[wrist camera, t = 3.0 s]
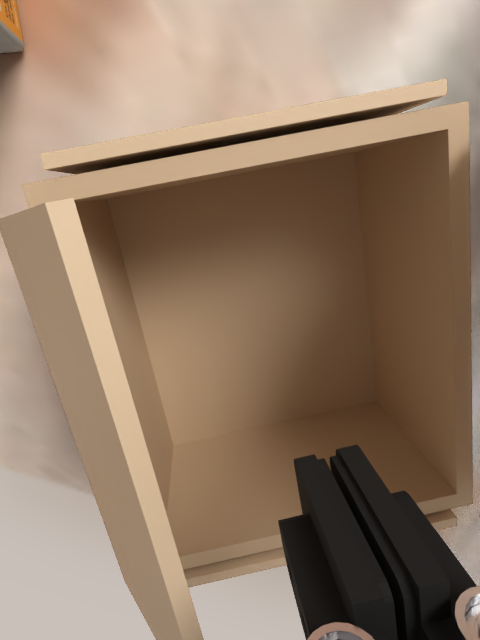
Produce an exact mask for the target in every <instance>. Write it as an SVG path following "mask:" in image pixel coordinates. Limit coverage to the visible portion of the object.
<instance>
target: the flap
mask: <svg viewBox="0 0 480 640" xmlns="http://www.w3.org/2000/svg"><path fill="white" fill-rule="evenodd" d="M0 231H1V234H2V237H3V240H4V243H5V245H6V248H7V251H8V254H9V257H10V260H11V262H12V265H13V268H14V271H15V274H16V276H17V279H18V282H19V285H20V288H21V290H22V293H23V296H24V299H25V302H26V305H27V307H28V310H29V313H30V316H31V319H32V321H33V324H34V327H35V330H36V333H37V335H38V338H39V341H40V344H41V347H42V350H43V352H44V355H45V358H46V361H47V364H48V366H49V369H50V372H51V375H52V378H53V380H54V383H55V386H56V389H57V392H58V395H59V397H60V400H61V403H62V406H63V409H64V411H65V414H66V417H67V420H68V423H69V426H70V428H71V431H72V434H73V437H74V440H75V442H76V445H77V448H78V451H79V454H80V456H81V459H82V462H83V465H84V468H85V471H86V473H87V476H88V479H89V482H90V485H91V487H92V490H93V493H94V496H95V499H96V501H97V504H98V507H99V510H100V513H101V516H102V518H103V521H104V524H105V527H106V529H107V532H108V535H109V538H110V541H111V543H112V546H113V549H114V552H115V555H116V558H117V560H118V563H119V566H120V569H121V572H122V574H123V577H124V580H125V582H126V584H127V586H128V588H129V590H130V592H131V594H132V595H133V597H134V599H135V601H136V603H137V605H138V606H139V608H140V610H141V612H142V614H143V616H144V618H145V619H146V621H147V623H148V625H149V627H150V629H151V631H152V632H153V634H154V636H155V638H156V640H203V636H202V633H201V630H200V626H199V623H198V619H197V616H196V612H195V609H194V606H193V602H192V599H191V596H190V592H189V589H188V585H187V582H186V578H185V575H184V572H183V568H182V565H181V561H180V558H179V555H178V551H177V548H176V544H175V541H174V538H173V534H172V531H171V527H170V524H169V521H168V517H167V514H166V510H165V507H164V504H163V500H162V497H161V493H160V490H159V487H158V483H157V480H156V476H155V473H154V470H153V466H152V463H151V459H150V456H149V453H148V449H147V446H146V443H145V439H144V436H143V432H142V429H141V426H140V422H139V419H138V415H137V412H136V409H135V405H134V402H133V398H132V395H131V392H130V388H129V385H128V381H127V378H126V375H125V371H124V368H123V364H122V361H121V358H120V354H119V351H118V347H117V344H116V341H115V337H114V334H113V330H112V327H111V324H110V320H109V317H108V313H107V310H106V307H105V303H104V300H103V296H102V293H101V290H100V286H99V283H98V279H97V276H96V273H95V269H94V266H93V262H92V259H91V256H90V252H89V249H88V246H87V242H86V239H85V235H84V232H83V229H82V225H81V222H80V218H79V215H78V212H77V208H76V205H75V201H74V198H70V199H64V200H59V201H53V202H47V203H43V204H40V205H38V206H35V207H32V208H29V209H27V210H24V211H21V212H18V213H16V214H13V215H10V216H7V217H5V218H2V219H0Z"/></svg>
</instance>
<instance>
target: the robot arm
mask: <svg viewBox="0 0 480 640" xmlns="http://www.w3.org/2000/svg"><path fill="white" fill-rule="evenodd" d="M294 467H295V473H296V479H297V485H298V491H299V497H300V503H301V508H302V514H303V515H299V516H294V517H290V518H286V519H282V520H278V524H279V529H280V534H281V539H282V545H283V549H284V554H285V559H286V563H287V567H288V572H289V575H290V580H291V584H292V587H293V591H294V595H295V599H296V603H297V606H298V610H299V614H300V618H301V622H302V626H303V630H304V633H305V637H306V640H480V586H476V584H475V583H474V582H473V580H472V579H471V577H470V576H469V575H468V573H467V572H466V571H465V569H464V568H463V567H462V565H461V564H460V562H459V561H458V560H457V558H456V557H455V556H454V554H453V553H452V552H451V550H450V549H449V548H448V546H447V545H446V543H445V542H444V541H443V539H442V538H441V537H440V535H439V534H438V533H437V531H436V530H435V529H434V527H433V526H432V524H431V523H430V522H429V520H428V519H427V518H426V516H425V515H424V514H423V512H422V511H421V510H420V508H419V507H418V505H417V504H416V503H415V501H414V500H413V499H412V497H411V496H410V495H409V494H408V493H407V492H406V491H399V492H395V493H390V491H389V490H388V488H387V487H386V485H385V484H384V482H383V481H382V479H381V478H380V476H379V475H378V474H377V472H376V471H375V469H374V468H373V466H372V465H371V463H370V462H369V460H368V459H367V457H366V456H365V454H364V453H363V451H362V450H361V448H360V447H359V446H358V445H352V446H348V447H343V448H339V449H336V455H335V456H331V457H330V467H331V470H330V468H329V466H328V464H327V462H326V460H325V459H324V458H322V459H318V460H317V457H316V456H315V455H314V454H313V455H309V456H304V457H300V458H296V459H294Z"/></svg>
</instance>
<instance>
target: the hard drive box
mask: <svg viewBox="0 0 480 640" xmlns="http://www.w3.org/2000/svg"><path fill="white" fill-rule="evenodd" d="M23 49H24V44H23V37H22V32H21V26H20V21H19V15H18V10H17V4H16V0H0V53H7V52H19V51H23Z"/></svg>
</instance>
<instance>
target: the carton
mask: <svg viewBox="0 0 480 640" xmlns="http://www.w3.org/2000/svg"><path fill="white" fill-rule="evenodd" d="M445 95H447V81H446V79H442V80H436V81H431V82H425V83H420V84H415V85H409V86H404V87H398V88H393V89H388V90H382V91H377V92H371V93H366V94H361V95H355V96H350V97H344V98H339V99H333V100H328V101H323V102H317V103H312V104H306V105H301V106H296V107H290V108H285V109H279V110H274V111H269V112H263V113H258V114H252V115H247V116H242V117H236V118H231V119H225V120H220V121H214V122H209V123H204V124H198V125H193V126H187V127H182V128H177V129H171V130H166V131H160V132H155V133H150V134H144V135H139V136H133V137H128V138H123V139H117V140H112V141H106V142H101V143H96V144H90V145H85V146H79V147H74V148H68V149H63V150H58V151H52V152H47V153H41V154H40V157H41V160H42V164H43V167H44V170H50V171H57V172H64V173H71V174H76V175H70V176H65V177H60V178H54V179H49V180H44V181H39V182H33V183H28V184H23V185H21V186H22V189H23V192H24V195H25V198H26V201H27V204H28V207H29V208H32V207H35V206H38V205H40V204H43V203H47V202H53V201H59V200H64V199H70V198H74V201H75V205H76V208H77V212H78V215H79V218H80V222H81V225H82V229H83V232H84V235H85V239H86V242H87V246H88V249H89V252H90V256H91V259H92V262H93V266H94V269H95V273H96V276H97V279H98V283H99V286H100V290H101V293H102V296H103V300H104V303H105V307H106V310H107V313H108V317H109V320H110V324H111V327H112V330H113V334H114V337H115V341H116V344H117V347H118V351H119V354H120V358H121V361H122V364H123V368H124V371H125V375H126V378H127V381H128V385H129V388H130V392H131V395H132V398H133V402H134V405H135V409H136V412H137V415H138V419H139V422H140V426H141V429H142V432H143V436H144V439H145V443H146V446H147V449H148V453H149V456H150V459H151V463H152V466H153V470H154V473H155V476H156V480H157V483H158V487H159V490H160V493H161V497H162V500H163V504H164V507H165V510H166V514H167V517H168V521H169V524H170V527H171V531H172V534H173V538H174V541H175V544H176V548H177V551H178V555H179V558H180V561H181V565H182V568H183V572H184V575H185V578H186V582H187V585H188V587H193V586H197V585H201V584H206V583H210V582H214V581H219V580H223V579H227V578H232V577H236V576H240V575H245V574H249V573H253V572H258V571H262V570H266V569H271V568H275V567H279V566H284V565H287V563H286V559H285V554H284V549H283V545H282V539H281V534H280V529H279V524H278V520H282V519H286V518H290V517H294V516H299V515H303V514H302V508H301V503H300V497H299V491H298V485H297V479H296V473H295V467H294V459H296V458H300V457H304V456H309V455H313V454H314V455H315V456H316V457H317V460H318V459H322V458H324V459H325V460H326V462H327V464H328V466H329V468H330V470H331V467H330V457H331V456H335V455H336V449H339V448H343V447H348V446H352V445H358V446H359V447H360V448H361V450H362V451H363V453H364V454H365V456H366V457H367V459H368V460H369V462H370V463H371V465H372V466H373V468H374V469H375V471H376V472H377V474H378V475H379V476H380V478H381V479H382V481H383V482H384V484H385V485H386V487H387V488H388V490H389V491H390V493H395V492H399V491H406V492H407V493H408V494H409V495H410V496H411V497H412V499H413V500H414V501H415V503H416V504H417V505H418V507H419V508H420V510H421V511H422V512H423V514H424V515H425V516H426V518H427V519H428V520H429V522H430V523H431V524H432V526H433V527H434V529H435V530H440V529H445V528H449V527H453V526H457V517H456V516H455V514H454V513H453V512H452V511H451V509H452V508H456V507H460V506H465V505H469V504H473V470H472V362H471V253H470V145H469V101H465V102H460V103H454V104H449V105H444V106H438V107H433V108H428V109H422V110H417V111H412V112H406V113H401V112H403V111H406V110H408V109H411V108H414V107H416V106H419V105H421V104H424V103H427V102H429V101H432V100H434V99H437V98H439V97H442V96H445ZM398 113H401V114H398Z"/></svg>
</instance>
